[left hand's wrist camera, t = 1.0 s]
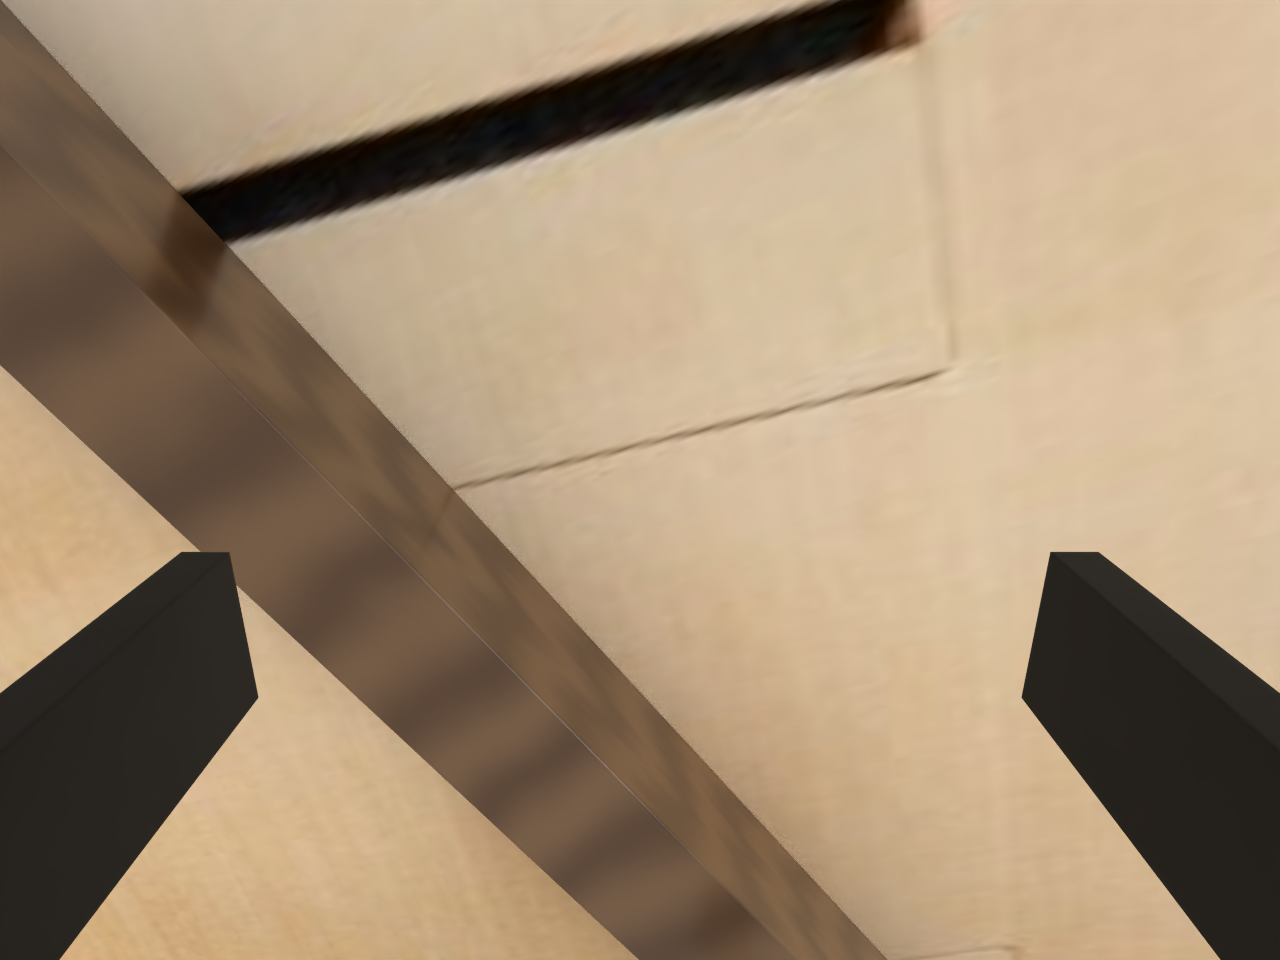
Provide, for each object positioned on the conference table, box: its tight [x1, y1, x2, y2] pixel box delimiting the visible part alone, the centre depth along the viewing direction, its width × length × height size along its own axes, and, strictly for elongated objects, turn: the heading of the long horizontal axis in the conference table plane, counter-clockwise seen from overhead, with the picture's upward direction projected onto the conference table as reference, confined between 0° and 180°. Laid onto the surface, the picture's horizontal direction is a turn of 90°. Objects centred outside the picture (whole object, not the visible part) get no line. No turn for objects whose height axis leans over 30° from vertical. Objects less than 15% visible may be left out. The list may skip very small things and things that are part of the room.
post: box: [0, 1, 887, 960], centre depth 36 cm, size 77×6×8 cm, turn 38°
